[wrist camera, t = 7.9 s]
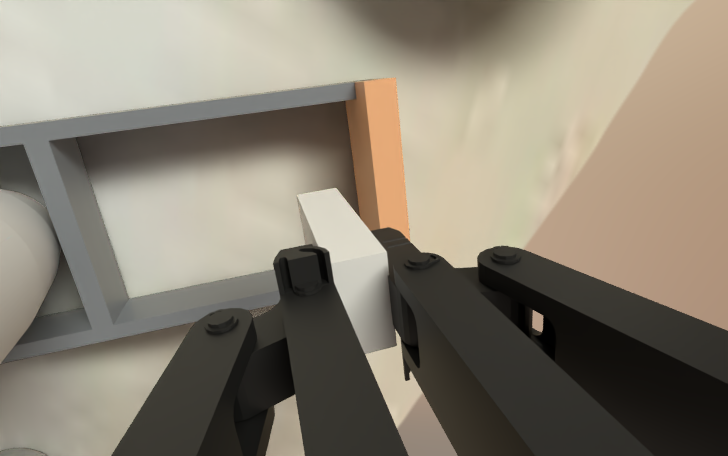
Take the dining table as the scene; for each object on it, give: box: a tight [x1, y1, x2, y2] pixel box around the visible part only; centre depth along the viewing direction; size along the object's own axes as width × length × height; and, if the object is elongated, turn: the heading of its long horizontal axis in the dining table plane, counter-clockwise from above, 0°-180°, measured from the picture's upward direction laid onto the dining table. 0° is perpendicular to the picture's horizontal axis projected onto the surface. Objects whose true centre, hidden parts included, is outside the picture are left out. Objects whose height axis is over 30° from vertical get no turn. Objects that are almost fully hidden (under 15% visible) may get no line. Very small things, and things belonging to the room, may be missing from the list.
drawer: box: [0, 78, 410, 364], centre depth 22 cm, size 11×28×5 cm, turn 97°
